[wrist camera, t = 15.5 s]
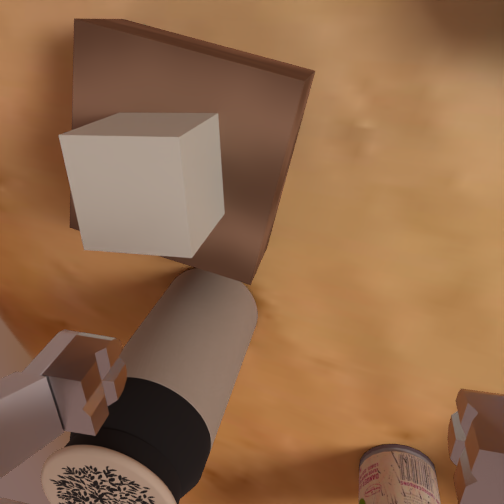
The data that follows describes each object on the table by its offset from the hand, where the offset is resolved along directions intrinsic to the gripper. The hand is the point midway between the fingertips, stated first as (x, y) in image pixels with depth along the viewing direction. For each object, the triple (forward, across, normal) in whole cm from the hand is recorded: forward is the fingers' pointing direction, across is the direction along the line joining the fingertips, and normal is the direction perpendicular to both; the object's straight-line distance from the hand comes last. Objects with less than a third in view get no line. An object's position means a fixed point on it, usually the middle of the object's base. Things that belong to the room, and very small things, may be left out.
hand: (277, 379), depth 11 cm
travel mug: (+22, +9, +15) cm, 28 cm away
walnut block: (+22, +9, +1) cm, 24 cm away
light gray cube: (+16, +9, +1) cm, 19 cm away
